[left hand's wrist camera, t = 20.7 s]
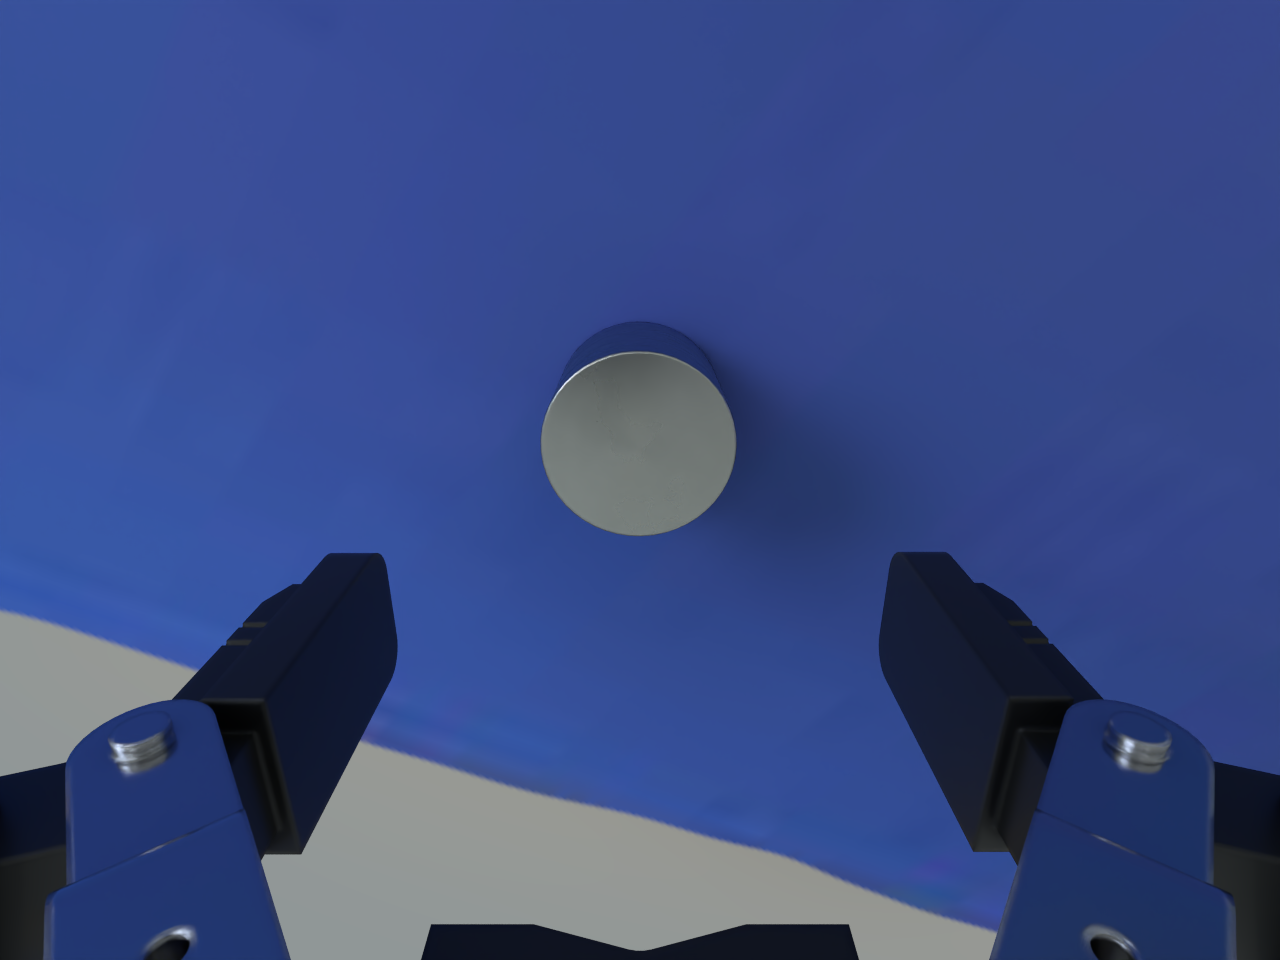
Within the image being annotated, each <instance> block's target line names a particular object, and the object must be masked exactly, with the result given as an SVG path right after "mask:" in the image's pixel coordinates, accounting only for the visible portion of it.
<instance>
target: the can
mask: <svg viewBox="0 0 1280 960" xmlns="http://www.w3.org/2000/svg"><path fill="white" fill-rule="evenodd" d="M736 447H737V442H736V430H735V425H734V420H733V417H732V414H731V411H730V408H729V406H728V404H727V401H726V399H725V396H724V394H723V392H722V389H721V387H720V385H719V382H718V380H717V378H716V375H715V373H714V370H713V368H712V366H711V364H710V362H709V361H708V359H707V358H706V356H705V355H704V353H703V352H702V351H701V350H700V349H699V348H698V347H697V345H696V344H694V343H693V342H692V341H691V340H690V339H689V338H687V337H686V336H684V335H683V334H681V333H679V332H678V331H675V330H673V329H671V328H669V327H666V326H663V325H660V324H655V323H649V322H629V323H623V324H618V325H614V326H612V327H609V328H606V329H604V330H602V331H600V332H598V333H596V334H595V335H593V336H592V337H591V338H589V339H588V340H586V341H585V342H584V343H583V344H582V345H581V346H580V347H579V348H578V349H577V351H576V352H575V353H574V354H573V356H572V357H571V359H570V360H569V362H568V364H567V365H566V368H565V370H564V372H563V374H562V377H561V379H560V381H559V384H558V386H557V388H556V391H555V393H554V395H553V397H552V400H551V402H550V404H549V407H548V409H547V411H546V414H545V417H544V421H543V425H542V431H541V455H542V462H543V465H544V469H545V472H546V475H547V477H548V479H549V482H550V484H551V486H552V487H553V489H554V491H555V492H556V494H557V495H558V497H559V498H560V499H561V500H562V501H563V503H564V504H565V505H566V506H567V507H568V508H569V509H570V510H571V511H572V512H573V513H575V514H576V515H577V516H579V517H580V518H582V519H583V520H584V521H586V522H588V523H590V524H592V525H593V526H595V527H598V528H600V529H603V530H605V531H609V532H612V533H616V534H621V535H628V536H648V535H656V534H661V533H666V532H669V531H672V530H675V529H677V528H679V527H682V526H684V525H686V524H688V523H689V522H691V521H693V520H694V519H696V518H697V517H699V516H700V515H701V514H702V513H704V512H705V511H706V510H707V509H708V508H709V507H710V506H711V505H712V504H713V503H714V502H715V501H716V499H717V498H718V497H719V495H720V494H721V493H722V491H723V490H724V488H725V486H726V484H727V482H728V480H729V478H730V475H731V473H732V470H733V466H734V462H735V458H736Z"/></svg>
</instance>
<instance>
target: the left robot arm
mask: <svg viewBox="0 0 1280 960" xmlns="http://www.w3.org/2000/svg"><path fill="white" fill-rule="evenodd" d="M879 656H880V663H881V667H882V671H883V674H884V677H885V679H886V681H887V683H888V685H889V687H890V689H891V691H892V693H893V695H894V697H895V699H896V701H897V702H898V704H899V706H900V708H901V710H902V712H903V714H904V716H905V718H906V720H907V722H908V724H909V726H910V728H911V730H912V732H913V734H914V736H915V738H916V740H917V742H918V744H919V746H920V748H921V750H922V752H923V754H924V756H925V758H926V759H927V761H928V763H929V765H930V767H931V769H932V771H933V773H934V775H935V777H936V779H937V781H938V783H939V785H940V787H941V789H942V791H943V793H944V795H945V797H946V799H947V801H948V803H949V805H950V807H951V809H952V811H953V813H954V815H955V816H956V818H957V820H958V822H959V824H960V826H961V828H962V830H963V832H964V834H965V836H966V838H967V840H968V842H969V844H970V846H971V848H972V850H973V852H1010V853H1011V855H1012V857H1013V859H1014V860H1015V862H1016V864H1017V866H1018V867H1017V870H1016V873H1015V877H1014V880H1013V883H1012V886H1011V890H1010V893H1009V896H1008V900H1007V903H1006V906H1005V910H1004V913H1003V916H1002V919H1001V923H1000V926H999V929H998V933H997V936H996V939H995V942H994V946H993V949H992V952H991V956H990V959H989V960H1280V775H1275V774H1271V773H1266V772H1261V771H1256V770H1252V769H1247V768H1242V767H1237V766H1233V765H1228V764H1223V763H1219V762H1214V761H1213V760H1212V758H1211V755H1210V754H1209V752H1208V751H1207V750H1206V748H1205V747H1204V746H1203V745H1202V744H1201V743H1200V742H1199V741H1198V739H1197V738H1195V737H1194V736H1193V735H1192V734H1190V733H1189V732H1188V731H1187V730H1185V729H1184V728H1182V727H1181V726H1179V725H1178V724H1176V723H1174V722H1173V721H1171V720H1169V719H1167V718H1165V717H1163V716H1161V715H1159V714H1157V713H1155V712H1152V711H1150V710H1147V709H1144V708H1142V707H1139V706H1135V705H1132V704H1128V703H1124V702H1119V701H1113V700H1104V699H1103V698H1102V697H1101V696H1100V695H1099V694H1098V693H1097V692H1096V690H1095V689H1094V688H1093V687H1092V686H1091V685H1090V684H1089V683H1088V682H1087V681H1086V680H1085V679H1084V677H1083V676H1082V675H1081V674H1080V673H1079V672H1078V671H1077V670H1076V669H1075V668H1074V667H1073V666H1072V664H1071V663H1070V662H1069V661H1068V660H1067V659H1066V658H1065V657H1064V656H1063V655H1062V654H1061V653H1060V651H1059V650H1058V649H1057V648H1056V647H1055V646H1054V645H1053V644H1049V643H1048V638H1047V637H1046V636H1045V635H1044V634H1043V633H1042V632H1041V631H1040V630H1039V629H1038V628H1037V626H1032V621H1031V620H1030V619H1029V618H1028V617H1027V616H1026V615H1025V613H1024V612H1023V611H1022V610H1021V609H1020V608H1019V607H1018V606H1017V605H1016V604H1015V603H1014V602H1013V601H1012V600H1011V599H1009V598H1007V597H1006V596H1004V595H1002V594H1001V593H999V592H997V591H995V590H994V589H992V588H990V587H989V586H987V585H985V584H984V583H974V582H973V581H972V580H971V579H970V577H969V576H968V575H967V574H966V573H965V572H964V570H963V569H962V568H961V567H960V566H959V565H958V564H957V562H956V561H955V560H954V559H953V558H952V557H951V556H950V555H949V554H948V553H946V552H897V553H896V554H894V556H893V558H892V560H891V563H890V568H889V574H888V581H887V588H886V594H885V601H884V608H883V615H882V622H881V628H880V635H879ZM396 660H397V634H396V627H395V621H394V614H393V607H392V601H391V594H390V587H389V581H388V574H387V568H386V564H385V561H384V559H383V557H382V555H380V554H379V553H330V554H328V555H327V556H325V557H324V559H323V560H322V561H321V562H320V563H319V564H318V565H317V567H316V568H315V569H314V570H313V571H312V572H311V573H310V575H309V576H308V577H307V578H306V579H305V580H304V581H303V583H302V584H292V585H291V586H289V587H287V588H286V589H284V590H282V591H281V592H279V593H277V594H275V595H274V596H272V597H270V598H269V599H267V600H265V601H264V602H262V603H261V604H260V605H259V606H258V608H257V609H256V610H255V611H254V612H253V613H252V614H251V615H250V616H249V617H248V618H247V619H246V620H245V622H244V623H243V627H242V628H238V629H237V630H236V631H235V632H234V633H233V634H232V636H231V637H230V638H229V639H228V640H227V643H226V646H221V647H220V648H219V649H218V651H217V652H216V653H215V654H214V655H213V656H212V657H211V658H210V659H209V660H208V661H207V662H206V663H205V665H204V666H203V667H202V668H201V669H200V670H199V671H198V672H197V673H196V674H195V675H194V676H193V677H192V679H191V680H190V681H189V682H188V683H187V684H186V685H185V686H184V687H183V688H182V689H181V690H180V691H179V693H178V694H177V695H176V696H175V697H174V698H173V699H172V700H167V701H161V702H156V703H152V704H148V705H145V706H141V707H138V708H136V709H133V710H130V711H128V712H125V713H123V714H121V715H119V716H117V717H115V718H113V719H111V720H109V721H108V722H106V723H104V724H102V725H101V726H99V727H98V728H96V729H95V730H93V731H92V732H91V733H90V734H88V735H87V736H86V737H85V738H83V740H82V741H81V742H80V743H79V744H78V745H77V746H76V747H75V748H74V750H73V751H72V752H71V754H70V756H69V758H68V760H67V762H65V763H61V764H57V765H52V766H48V767H43V768H38V769H33V770H29V771H24V772H19V773H15V774H10V775H5V776H0V960H291V959H290V956H289V952H288V949H287V946H286V942H285V939H284V936H283V933H282V929H281V926H280V923H279V920H278V916H277V913H276V910H275V906H274V903H273V900H272V896H271V893H270V890H269V886H268V883H267V880H266V877H265V873H264V870H263V867H262V864H261V860H262V858H263V856H264V854H302V852H303V850H304V848H305V846H306V844H307V842H308V840H309V838H310V836H311V834H312V832H313V830H314V828H315V826H316V824H317V822H318V821H319V819H320V817H321V815H322V813H323V811H324V809H325V807H326V805H327V803H328V801H329V799H330V797H331V795H332V793H333V791H334V789H335V788H336V786H337V784H338V782H339V780H340V778H341V776H342V774H343V772H344V770H345V768H346V766H347V764H348V762H349V760H350V758H351V756H352V755H353V753H354V751H355V749H356V747H357V745H358V743H359V741H360V739H361V737H362V735H363V733H364V731H365V729H366V727H367V725H368V724H369V722H370V720H371V718H372V716H373V714H374V712H375V710H376V708H377V706H378V704H379V702H380V700H381V698H382V696H383V694H384V692H385V691H386V689H387V687H388V685H389V683H390V681H391V679H392V676H393V673H394V670H395V666H396ZM421 960H859V958H858V955H857V951H856V948H855V945H854V941H853V938H852V934H851V931H850V927H849V925H848V924H746V925H742V926H738V927H735V928H731V929H727V930H723V931H720V932H716V933H712V934H708V935H705V936H701V937H697V938H693V939H689V940H686V941H682V942H678V943H674V944H671V945H667V946H663V947H659V948H655V949H652V950H646V951H634V950H628V949H625V948H621V947H617V946H613V945H610V944H606V943H602V942H598V941H594V940H591V939H587V938H583V937H579V936H575V935H572V934H568V933H564V932H560V931H556V930H553V929H549V928H545V927H542V926H538V925H534V924H431V927H430V930H429V934H428V937H427V941H426V944H425V948H424V952H423V955H422V959H421Z"/></svg>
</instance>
